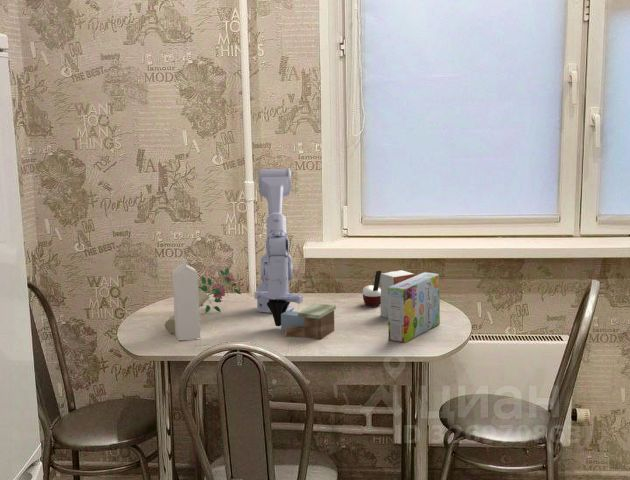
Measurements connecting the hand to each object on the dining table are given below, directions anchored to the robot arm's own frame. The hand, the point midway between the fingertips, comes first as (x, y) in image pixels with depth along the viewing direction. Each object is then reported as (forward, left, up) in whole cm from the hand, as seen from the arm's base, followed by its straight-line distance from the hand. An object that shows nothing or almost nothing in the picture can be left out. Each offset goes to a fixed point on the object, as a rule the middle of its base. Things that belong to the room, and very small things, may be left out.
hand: (279, 325), depth 226 cm
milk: (-19, -17, -1) cm, 26 cm away
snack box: (+36, +12, -1) cm, 38 cm away
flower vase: (-27, 0, -1) cm, 27 cm away
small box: (+26, +26, -1) cm, 37 cm away
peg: (+7, 0, -1) cm, 7 cm away
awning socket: (+10, 0, -1) cm, 10 cm away
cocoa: (+15, +34, -1) cm, 37 cm away
